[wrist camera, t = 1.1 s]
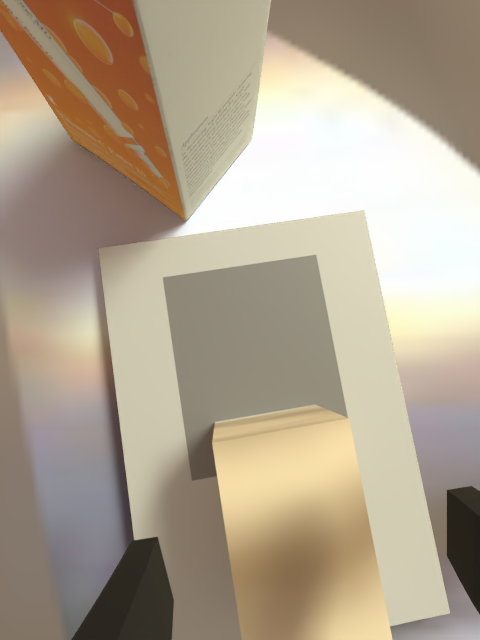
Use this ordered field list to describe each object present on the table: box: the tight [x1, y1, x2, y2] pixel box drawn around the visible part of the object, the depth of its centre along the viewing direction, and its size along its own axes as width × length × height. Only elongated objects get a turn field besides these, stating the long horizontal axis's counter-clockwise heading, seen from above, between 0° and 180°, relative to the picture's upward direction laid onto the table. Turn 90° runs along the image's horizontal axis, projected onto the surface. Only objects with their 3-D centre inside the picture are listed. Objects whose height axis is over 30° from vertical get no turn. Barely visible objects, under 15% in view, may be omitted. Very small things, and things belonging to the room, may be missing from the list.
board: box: [98, 210, 450, 640], centre depth 19 cm, size 20×14×1 cm
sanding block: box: [212, 405, 392, 640], centre depth 15 cm, size 9×5×5 cm, turn 9°
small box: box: [0, 0, 271, 220], centre depth 14 cm, size 8×6×13 cm
